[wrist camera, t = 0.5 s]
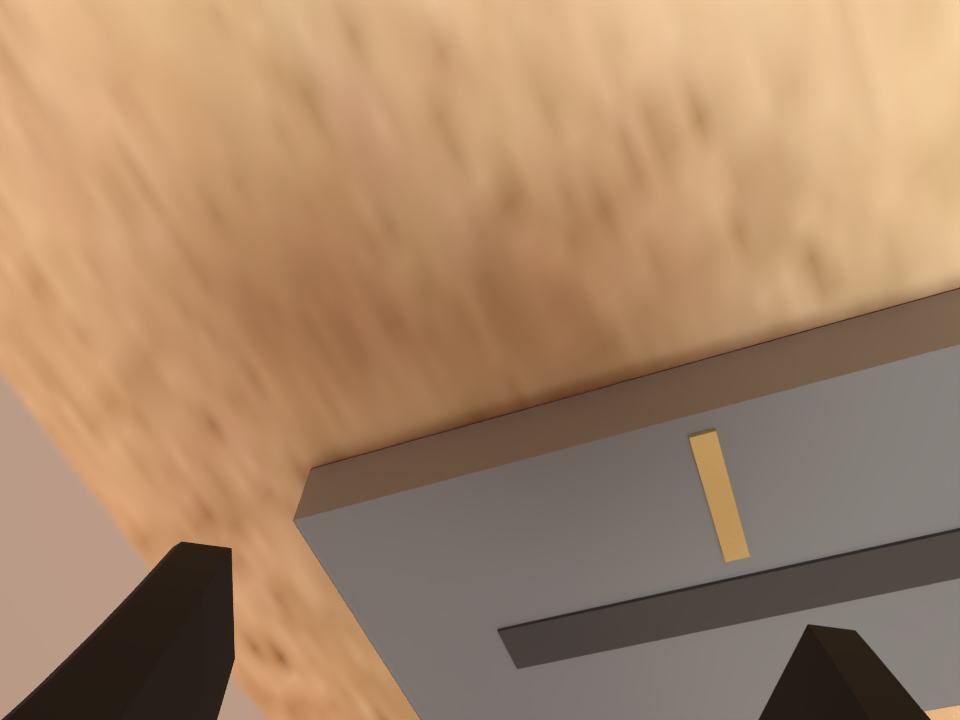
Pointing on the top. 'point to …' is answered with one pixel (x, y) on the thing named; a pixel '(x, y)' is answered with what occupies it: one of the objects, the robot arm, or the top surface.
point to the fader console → (668, 532)
